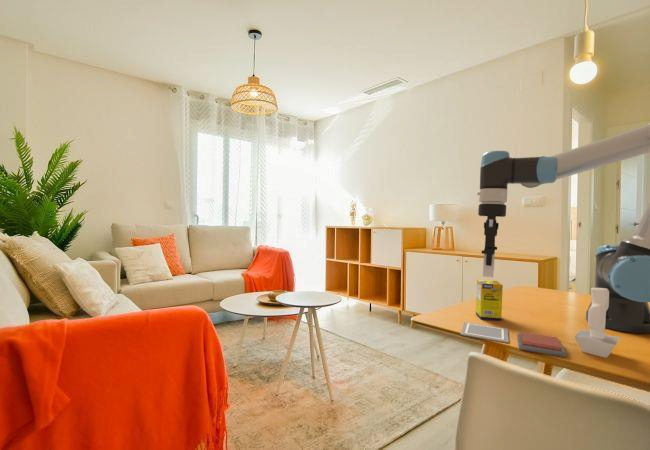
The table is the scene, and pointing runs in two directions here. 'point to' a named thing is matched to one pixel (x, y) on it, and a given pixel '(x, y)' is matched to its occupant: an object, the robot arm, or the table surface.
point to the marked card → (485, 332)
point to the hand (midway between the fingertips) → (488, 273)
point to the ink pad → (540, 344)
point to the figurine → (597, 326)
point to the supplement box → (489, 300)
